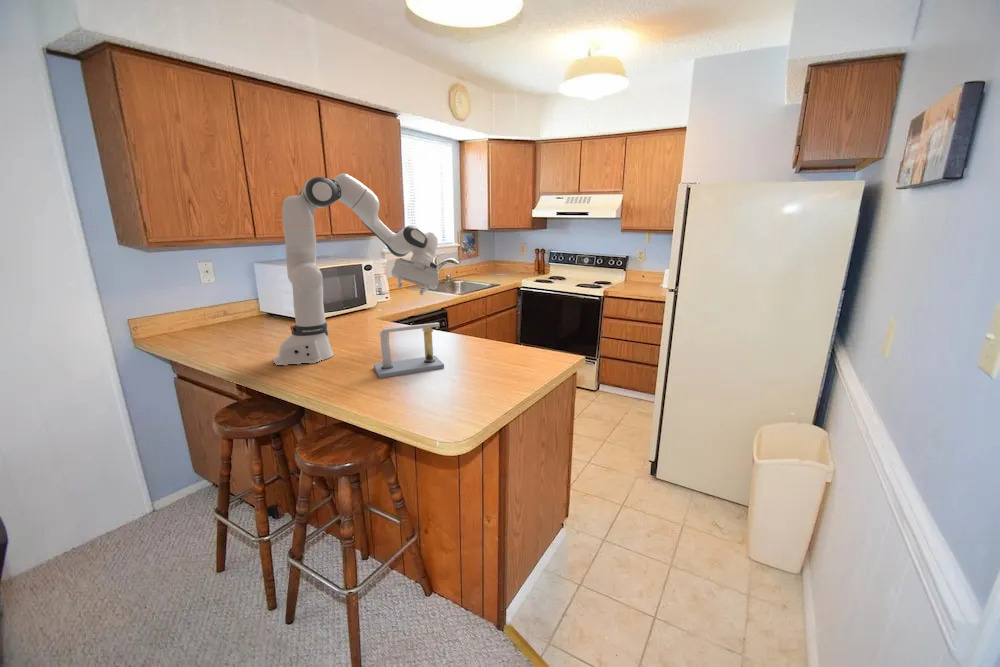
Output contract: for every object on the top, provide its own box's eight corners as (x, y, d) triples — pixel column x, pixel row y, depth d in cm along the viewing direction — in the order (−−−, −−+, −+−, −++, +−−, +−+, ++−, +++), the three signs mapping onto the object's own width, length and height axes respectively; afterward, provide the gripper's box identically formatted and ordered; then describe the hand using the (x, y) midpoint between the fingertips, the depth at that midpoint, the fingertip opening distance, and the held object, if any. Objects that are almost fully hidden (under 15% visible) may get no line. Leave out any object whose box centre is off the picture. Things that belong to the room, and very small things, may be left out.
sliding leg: (426, 361, 163) (424, 330, 159) (424, 359, 165) (422, 328, 162) (434, 360, 164) (432, 329, 161) (432, 358, 167) (430, 327, 163)
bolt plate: (379, 378, 152) (375, 334, 148) (374, 367, 163) (370, 326, 158) (445, 367, 162) (443, 326, 157) (436, 358, 172) (434, 319, 168)
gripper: (397, 252, 183) (386, 279, 178) (442, 267, 186) (433, 294, 180) (396, 260, 189) (386, 286, 183) (441, 275, 192) (432, 301, 186)
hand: (410, 290), depth 182 cm, fingers open, 8 cm apart
